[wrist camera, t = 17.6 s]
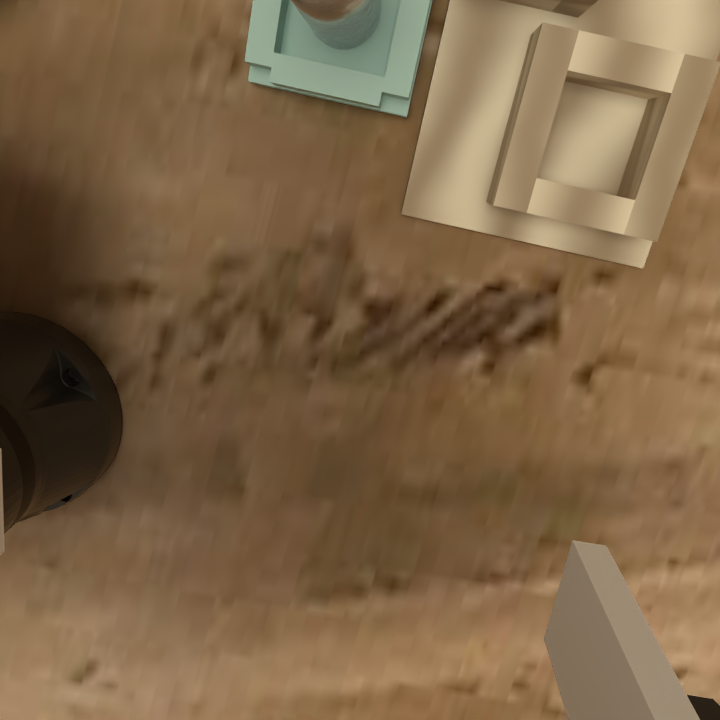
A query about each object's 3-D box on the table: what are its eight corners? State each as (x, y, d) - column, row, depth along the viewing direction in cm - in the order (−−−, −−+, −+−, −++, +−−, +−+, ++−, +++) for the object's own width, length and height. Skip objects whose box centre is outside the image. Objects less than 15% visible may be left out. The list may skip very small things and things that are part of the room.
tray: (252, 83, 40) (240, 77, 37) (279, -99, 37) (268, -121, 34) (406, 118, 40) (406, 114, 37) (446, -62, 37) (449, -81, 34)
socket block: (401, 213, 42) (400, 220, 36) (484, -151, 35) (498, -209, 30) (638, 266, 41) (674, 282, 36) (763, -90, 35) (829, -137, 30)
